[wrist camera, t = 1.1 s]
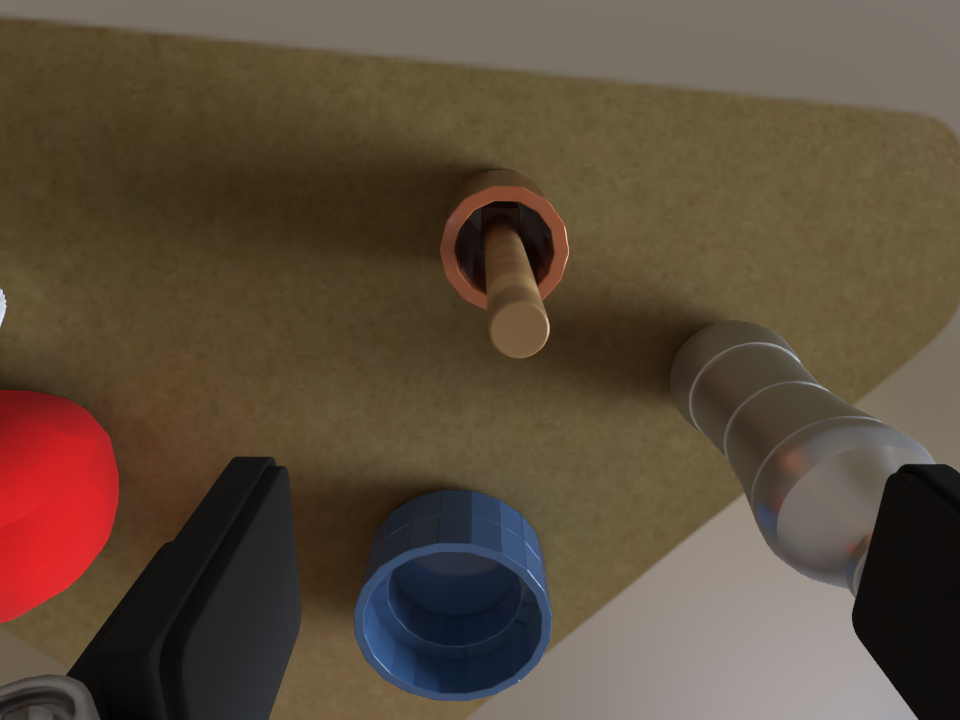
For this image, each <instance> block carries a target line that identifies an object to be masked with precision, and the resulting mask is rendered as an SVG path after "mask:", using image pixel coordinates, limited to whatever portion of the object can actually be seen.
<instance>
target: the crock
mask: <svg viewBox="0 0 960 720" xmlns="http://www.w3.org/2000/svg"><path fill="white" fill-rule="evenodd" d="M494 201H515V202H517V204H518V206H519V208H520V216H519V235H520V238H521V240H522V243H523V246H524V249H525V252H526V255H527V258H528V261H529V264H530V267H531V270H532V273H533V276H534V279H535V282H536V285H537V287H538V290H539V293H540V296H541V299H542V300H544V299H545V297H546V296H547V295H548V294H549V293H550V292H551V291H552V290H553V289H554V287H555V286H556V285H557V284H558V283H559V282H560V280H561V279H562V275H563V272H564V269H565V265H566V262H567V259H568V256H569V247H568V241H567V234H566V228H565V224H564V222H563V221H562V219H561V218H560V216H559V215H558V214H557V212H556V211H555V209H554V208H553V207H552V205H551V204H550V202H549V201H548V200H547V198H546V197H545V196H544V195H543V194H542V192H541V191H540V190H539V189H538V188H537V186H536V185H535V184H534V183H533V182H532V181H531V180H529V179H527V178H526V177H524V176H523V175H521V174H519V173H516V172H514V171H511V170H504V169H493V170H487V171H484V172H481V173H479V174H477V175H475V176H473V177H472V178H470V179H469V180H467V181H466V183H465V184H464V185H463V186H462V187H461V188H460V190H459V191H458V192H457V194H456V195H455V196H454V198H453V201H452V204H451V207H450V210H449V213H448V217H447V220H446V223H445V227H444V231H443V236H442V240H441V244H440V255H441V260H442V264H443V269H444V273H445V276H446V278H447V280H448V281H449V282H450V284H451V285H452V286H453V287H454V289H455V290H456V291H457V293H458V294H459V295H460V296H461V298H463V299H464V300H465V301H467V302H469V303H471V304H473V305H475V306H477V307H479V308H481V309H483V310H485V311H487V292H486V267H485V252H482V250H481V231H482V207H483V206H485V205H487V204H489V203H491V202H494Z"/></svg>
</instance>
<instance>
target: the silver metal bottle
mask: <svg viewBox="0 0 960 720" xmlns="http://www.w3.org/2000/svg"><path fill="white" fill-rule="evenodd" d="M670 384H671V390H672V394H673V399H674V402H675V404H676V407H677V409H678V411H679V412H680V414H681V415H682V416H683V418H684V419H685V420H686V421H687V422H689V423H690V424H691V425H692V426H693V427H694V428H695V429H696V430H698V431H699V432H700V433H701V434H703V435H704V436H706V437H707V438H709V440H710V441H711V442H712V443H713V444H714V445H715V446H716V447H717V448H718V449H719V450H720V451H721V452H722V454H723V455H724V456H725V457H726V459H727V461H728V462H729V464H730V465H731V467H732V469H733V471H734V473H735V474H736V476H737V478H738V480H739V481H740V483H741V485H742V487H743V490H744V492H745V495H746V497H747V499H748V502H749V505H750V507H751V510H752V512H753V515H754V518H755V520H756V523H757V525H758V527H759V530H760V532H761V533H762V535H763V537H764V539H765V541H766V543H767V544H768V546H769V547H770V548H771V550H772V551H773V552H774V554H775V555H776V556H778V557H779V558H780V559H781V560H783V561H784V562H785V563H786V564H788V565H789V566H791V567H792V568H793V569H795V570H796V571H798V572H799V573H801V574H802V575H805V576H807V577H809V578H811V579H813V580H816V581H819V582H823V583H827V584H831V585H834V586H839V587H842V588H846V589H849V590H850V592H851V593H852V595H853V596H854V597H855V599H856V595H857V592H858V588H859V584H860V580H861V576H862V572H863V568H864V564H865V561H866V557H867V553H868V549H869V545H870V541H871V537H872V534H873V530H874V526H875V522H876V518H877V514H878V510H879V507H880V503H881V499H882V495H883V491H884V487H885V483H886V481H887V478H888V477H889V476H890V475H891V474H893V473H896V472H897V470H898V469H899V468H900V467H901V466H902V465H905V464H936V463H935V462H934V460H933V459H932V457H931V455H930V454H929V452H928V451H927V450H926V449H925V448H924V447H923V446H922V445H921V444H920V443H918V442H917V441H916V440H914V439H912V438H911V437H909V436H908V435H906V434H905V433H903V432H901V431H900V430H898V429H896V428H894V427H893V426H891V425H889V424H886V423H884V422H882V421H880V420H879V419H876V418H875V417H873V416H871V415H868V414H866V413H864V412H862V411H860V410H858V409H856V408H854V407H852V406H850V405H849V404H847V403H846V402H845V401H843V400H842V399H840V398H839V397H837V396H836V395H834V394H832V393H831V392H830V391H828V390H827V389H825V388H824V387H823V386H821V385H820V384H819V383H818V382H817V381H816V380H815V379H814V378H813V377H812V375H811V374H810V373H809V372H808V371H807V370H806V369H805V368H804V367H803V365H802V363H801V361H800V360H799V358H798V357H797V355H796V354H795V352H794V351H793V350H792V348H791V347H790V346H789V345H788V343H787V342H786V341H785V340H784V339H783V338H782V337H781V336H780V335H778V334H777V333H775V332H773V331H772V330H770V329H768V328H765V327H762V326H759V325H756V324H753V323H749V322H746V321H737V320H734V321H723V322H719V323H715V324H712V325H710V326H707V327H705V328H703V329H701V330H700V331H698V332H697V333H695V334H694V335H692V336H691V337H690V338H689V339H688V340H687V341H686V342H685V343H684V344H683V345H682V347H681V348H680V349H679V351H678V352H677V354H676V356H675V358H674V360H673V363H672V367H671V371H670Z"/></svg>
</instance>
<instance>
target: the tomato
mask: <svg viewBox="0 0 960 720" xmlns="http://www.w3.org/2000/svg"><path fill="white" fill-rule="evenodd" d="M118 502H119V473H118V469H117V465H116V460H115V456H114V452H113V447H112V443H111V439H110V436H109V435H108V434H107V433H106V432H105V430H104V429H103V428H102V427H101V426H100V424H99V423H98V422H97V421H96V420H95V418H94V417H93V416H92V415H91V414H90V412H89V411H88V410H87V409H85V408H83V407H81V406H80V405H78V404H76V403H74V402H73V401H71V400H69V399H67V398H65V397H60V396H55V395H50V394H45V393H40V392H35V391H19V390H0V623H3V622H7V621H10V620H12V619H14V618H16V617H18V616H20V615H22V614H24V613H26V612H28V611H29V610H31V609H33V608H35V607H36V606H38V605H40V604H41V603H43V602H45V601H46V600H48V599H50V598H52V597H53V596H55V595H57V594H58V593H60V592H62V591H63V590H65V589H66V588H67V587H69V586H70V585H71V584H72V583H73V582H74V581H76V580H77V579H78V578H79V577H80V576H81V575H82V574H83V573H84V572H85V571H86V569H87V568H88V567H89V566H90V564H91V563H92V562H93V560H94V559H95V558H96V556H97V555H98V554H99V552H100V551H101V550H102V548H103V547H104V545H105V544H106V542H107V541H108V539H109V536H110V533H111V530H112V527H113V524H114V519H115V515H116V511H117V507H118Z"/></svg>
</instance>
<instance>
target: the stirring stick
mask: <svg viewBox="0 0 960 720" xmlns="http://www.w3.org/2000/svg"><path fill="white" fill-rule="evenodd" d="M519 216H520V208H519V206H518V204H517V202H515V201H494V202H491V203H489V204H487V205H485V206H483V207H482V231H481V250H482V252H485V267H486V292H487V317H488V335H489V338H490V341H491V343H492V345H493V346H494V347H495V348H496V349H497V350H498V351H499V352H500V353H502V354H503V355H505V356H508V357H512V358H525V357H528V356H531V355H533V354H535V353H537V352H538V351H539V350H540V349H541V348H542V347H543V346H544V345H545V343H546V341H547V339H548V336H549V331H550V325H549V320H548V317H547V314H546V311H545V308H544V305H543V302H542V299H541V296H540V293H539V290H538V287H537V285H536V282H535V279H534V276H533V273H532V270H531V267H530V264H529V261H528V258H527V255H526V252H525V249H524V246H523V243H522V240H521V238H520V235H519Z"/></svg>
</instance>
